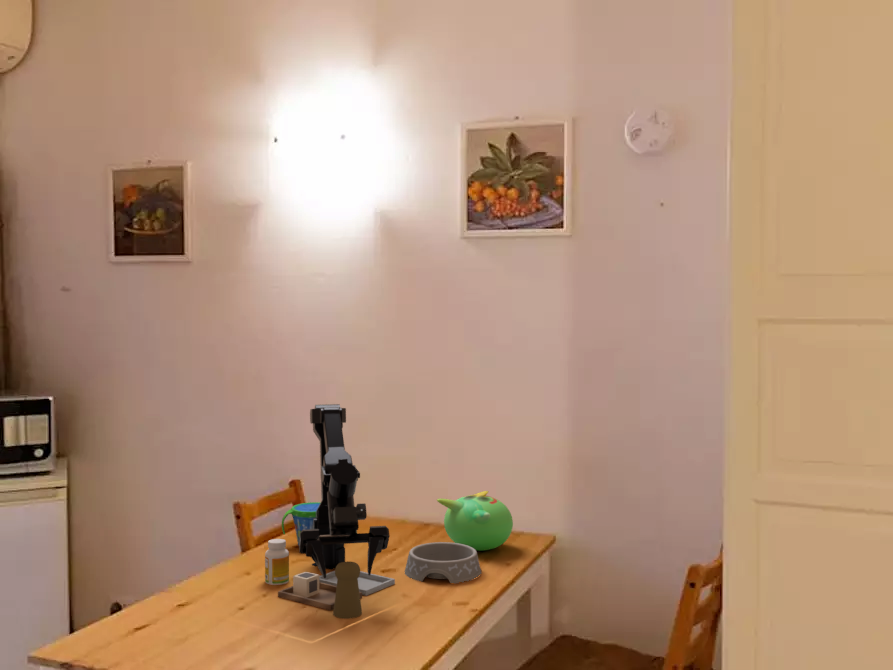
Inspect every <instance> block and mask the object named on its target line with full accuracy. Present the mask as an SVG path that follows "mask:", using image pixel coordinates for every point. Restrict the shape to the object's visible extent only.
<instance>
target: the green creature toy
mask: <svg viewBox="0 0 893 670" xmlns="http://www.w3.org/2000/svg"><path fill="white" fill-rule="evenodd" d="M487 494H489V491H488V490H484V491H483V490H482V491H480V492H478V493H475V494H469V495H465V496H461V497H460V498H457V499H456V500H455V499H447V498H437V499H436V501H437V503H439V504H441V505H442V506H443V507H446V508H447V509H446V512H445V513H444V518H443V524H444V529H445V533H446V534H447V536H448V537H449V539H451V541H453V543H459V544H464V545H467V546H470V547H472V548H474V549H475V550H476V551H478V552H479V551H480V552H481V551H489V550H494V549H496V548H498V547H500V546H501V545H503V544H504V543H505V542H506V541H507V540H508V539H509V538H510V535H511V534H512V531H513V525H514V521H513V520H514V519H513V516H512V513H511V512H510V510H509V508H508V507H507V506H506V504H505V503H503V502H502V501H500V500H499V499H497V498H496V497H492V496H489V495H487Z"/></svg>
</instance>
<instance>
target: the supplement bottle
mask: <svg viewBox="0 0 893 670" xmlns="http://www.w3.org/2000/svg"><path fill="white" fill-rule="evenodd" d="M286 545H287V542H286V539H283V538H272V539H270V540H268V542H267V548H268V549H267V550H266V551H265V553H264V577H265V578H264V580H265V581H264V583H265V584H268V585H272V586H277V585H278V586H279V585H285V584H288V583H289V581H290V552H289V550H288V549H287V548H286V547H287V546H286Z"/></svg>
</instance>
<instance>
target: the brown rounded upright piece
mask: <svg viewBox="0 0 893 670" xmlns="http://www.w3.org/2000/svg"><path fill="white" fill-rule="evenodd" d="M334 571H335V575H336V578H337V579H338V580H337V588H336V596H335V603H334V609H333V610H332V611H333V612H332V616H334V617H335V618H338V619H346V620H347V619H355V618H359V617H361V616H362V614H363V610H362V604H361V603H362V602H361V598H360V594H359V586H358V577H359V575H360V571H361V568H360V565H359V563H357V562H355V561H345V562H341V563H339V564H337V566H336V568H335V569H334Z"/></svg>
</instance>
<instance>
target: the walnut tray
mask: <svg viewBox="0 0 893 670" xmlns="http://www.w3.org/2000/svg"><path fill="white" fill-rule="evenodd" d="M336 588H337V586H334V585H330V584H326V583H322V582H319V593H317V594H315V595H312V596H310V597H307V598H306V597H303V596H299V595H295V594H293V585H292V586H289V587H287V588H284V589H280V590H277V597H278V598H282V599H286V600H289V601H292V602H297V603H301V604H305V605H308V606H311V607H316V608H319V609H323V610H327V611H330V612H331V611H334V603H335V596H336ZM359 594H360V599H362V598H363V595H362V592H359Z"/></svg>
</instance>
